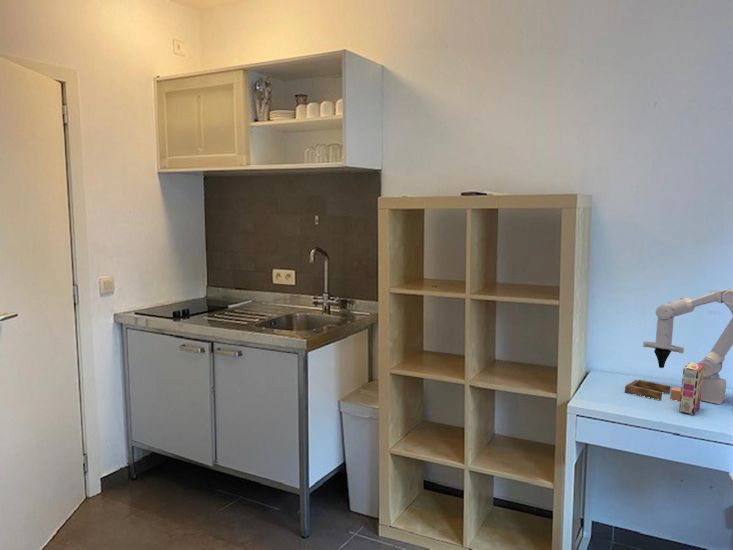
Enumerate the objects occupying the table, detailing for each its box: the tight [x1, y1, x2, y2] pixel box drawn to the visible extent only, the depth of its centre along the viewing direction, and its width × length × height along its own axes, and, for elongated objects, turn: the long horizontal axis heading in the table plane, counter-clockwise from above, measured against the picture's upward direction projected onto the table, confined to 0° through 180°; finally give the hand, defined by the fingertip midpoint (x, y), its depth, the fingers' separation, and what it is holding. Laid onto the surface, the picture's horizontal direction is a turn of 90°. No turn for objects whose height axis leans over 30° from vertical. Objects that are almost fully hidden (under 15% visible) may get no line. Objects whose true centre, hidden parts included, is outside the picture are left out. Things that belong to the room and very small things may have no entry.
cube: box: [670, 386, 682, 402], centre depth 225 cm, size 4×4×4 cm
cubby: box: [624, 379, 671, 401], centre depth 231 cm, size 13×11×3 cm
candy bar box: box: [678, 361, 704, 416], centre depth 213 cm, size 11×5×16 cm, turn 141°
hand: (661, 367), depth 237 cm, fingers closed
